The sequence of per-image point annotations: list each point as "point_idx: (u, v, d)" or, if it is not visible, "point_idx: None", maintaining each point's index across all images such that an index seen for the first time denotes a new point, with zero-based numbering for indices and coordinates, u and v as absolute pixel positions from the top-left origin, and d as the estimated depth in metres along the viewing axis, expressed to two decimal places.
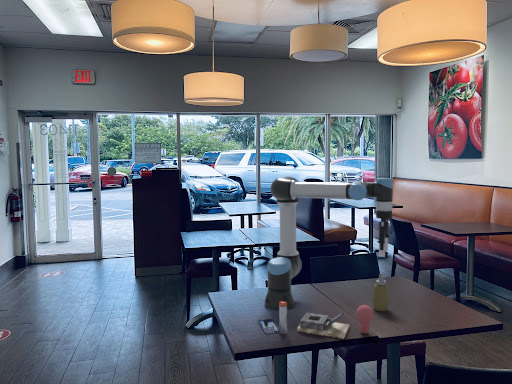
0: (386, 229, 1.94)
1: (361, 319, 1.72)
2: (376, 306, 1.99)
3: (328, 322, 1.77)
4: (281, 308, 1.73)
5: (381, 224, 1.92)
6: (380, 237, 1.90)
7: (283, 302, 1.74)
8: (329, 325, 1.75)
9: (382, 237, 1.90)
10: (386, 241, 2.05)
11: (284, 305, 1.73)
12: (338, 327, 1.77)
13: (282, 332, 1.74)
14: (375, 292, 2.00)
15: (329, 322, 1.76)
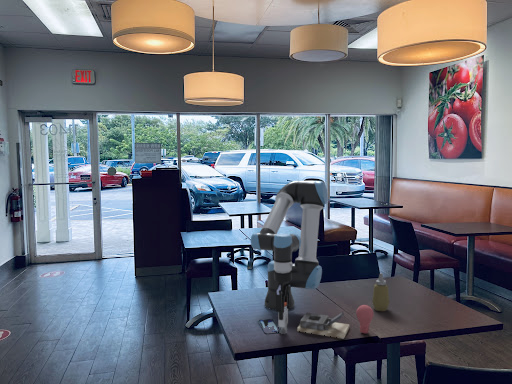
0: (284, 295, 1.71)
1: (361, 319, 1.72)
2: (376, 306, 1.99)
3: (328, 322, 1.77)
4: None
5: (277, 293, 1.68)
6: (277, 307, 1.70)
7: None
8: (329, 325, 1.75)
9: (279, 307, 1.69)
10: None
11: (284, 305, 1.73)
12: (338, 327, 1.77)
13: (282, 332, 1.74)
14: (375, 292, 2.00)
15: (329, 322, 1.76)
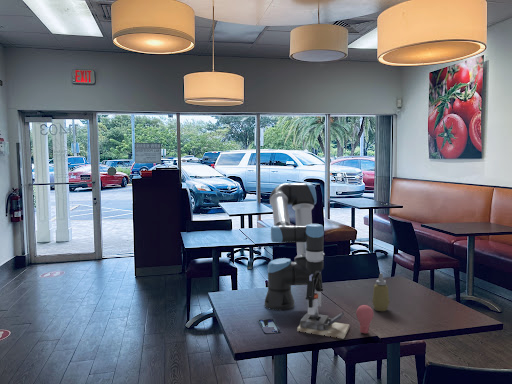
0: (316, 283, 1.75)
1: (361, 319, 1.72)
2: (376, 306, 1.99)
3: (328, 322, 1.77)
4: None
5: (309, 279, 1.72)
6: (308, 294, 1.71)
7: (314, 294, 1.79)
8: (329, 325, 1.75)
9: (310, 294, 1.71)
10: (319, 295, 1.84)
11: (316, 297, 1.78)
12: (338, 327, 1.77)
13: None
14: (375, 292, 2.00)
15: (329, 322, 1.76)
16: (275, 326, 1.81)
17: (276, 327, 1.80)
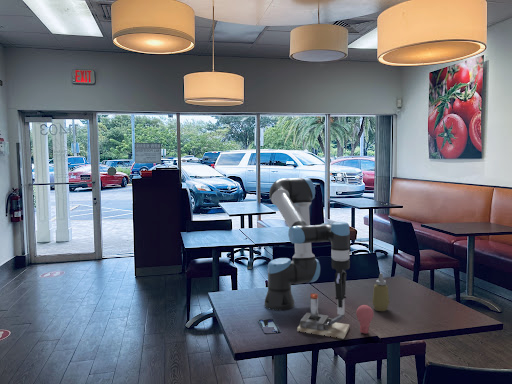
0: (343, 283, 1.72)
1: (361, 319, 1.72)
2: (376, 306, 1.99)
3: (328, 322, 1.77)
4: (312, 300, 1.78)
5: (336, 282, 1.69)
6: (337, 295, 1.71)
7: (314, 294, 1.79)
8: (329, 325, 1.75)
9: (339, 295, 1.70)
10: None
11: (315, 297, 1.78)
12: (338, 327, 1.77)
13: None
14: (375, 292, 2.00)
15: (329, 322, 1.76)
16: (275, 326, 1.81)
17: (276, 327, 1.80)
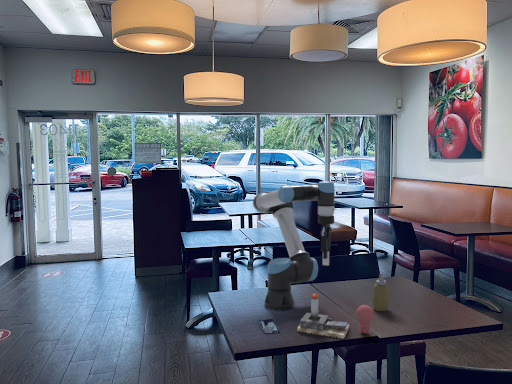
0: (328, 237, 1.89)
1: (361, 319, 1.72)
2: (376, 306, 1.99)
3: (329, 323, 1.77)
4: (313, 301, 1.78)
5: (322, 234, 1.86)
6: (322, 247, 1.88)
7: (315, 295, 1.78)
8: None
9: (324, 247, 1.88)
10: None
11: (316, 298, 1.77)
12: None
13: None
14: (375, 292, 2.00)
15: (330, 324, 1.75)
16: (275, 326, 1.81)
17: (276, 327, 1.80)
